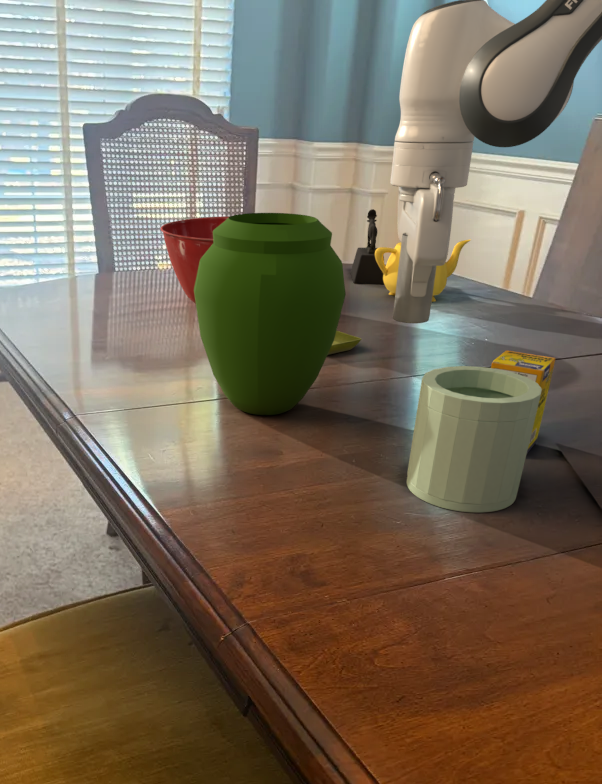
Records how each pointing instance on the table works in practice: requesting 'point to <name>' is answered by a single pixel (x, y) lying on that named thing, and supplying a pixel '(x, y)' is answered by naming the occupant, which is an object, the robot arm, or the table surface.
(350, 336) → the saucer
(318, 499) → the table surface
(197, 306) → the vase
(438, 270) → the teapot
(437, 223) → the robot arm
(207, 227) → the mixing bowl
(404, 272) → the grey cylinder
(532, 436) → the supplement box
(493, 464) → the jar
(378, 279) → the sculpture
